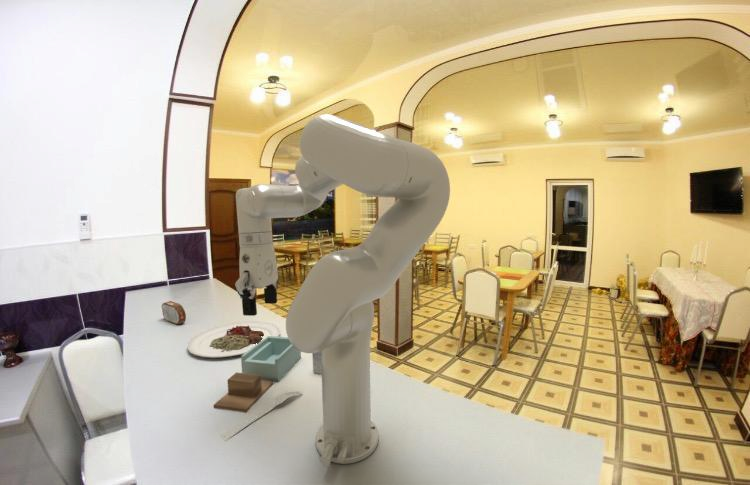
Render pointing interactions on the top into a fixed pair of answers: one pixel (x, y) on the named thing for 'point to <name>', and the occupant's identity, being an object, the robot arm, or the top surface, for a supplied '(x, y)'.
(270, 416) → the top surface
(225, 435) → the fork
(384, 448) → the top surface
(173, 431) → the top surface
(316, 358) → the medicine box
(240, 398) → the cover plate
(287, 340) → the slide box
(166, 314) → the tin
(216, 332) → the plated food
